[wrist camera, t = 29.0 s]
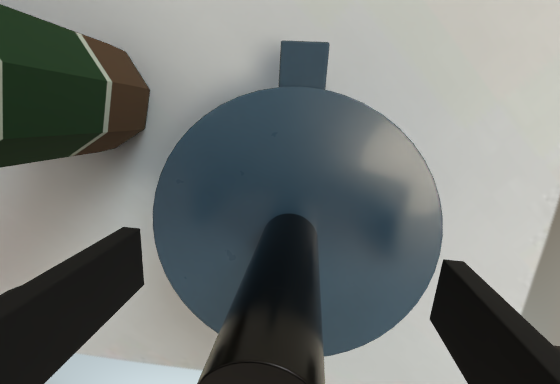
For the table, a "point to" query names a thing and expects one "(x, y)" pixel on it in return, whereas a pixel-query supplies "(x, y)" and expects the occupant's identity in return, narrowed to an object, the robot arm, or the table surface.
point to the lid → (295, 231)
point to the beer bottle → (63, 92)
